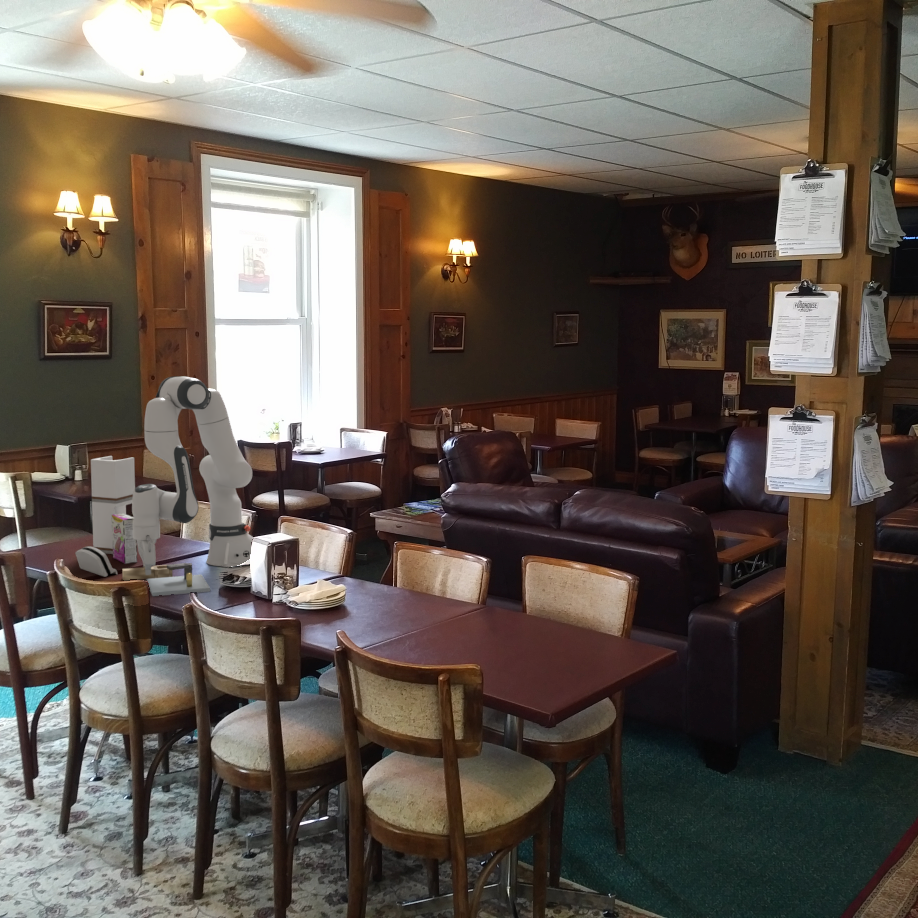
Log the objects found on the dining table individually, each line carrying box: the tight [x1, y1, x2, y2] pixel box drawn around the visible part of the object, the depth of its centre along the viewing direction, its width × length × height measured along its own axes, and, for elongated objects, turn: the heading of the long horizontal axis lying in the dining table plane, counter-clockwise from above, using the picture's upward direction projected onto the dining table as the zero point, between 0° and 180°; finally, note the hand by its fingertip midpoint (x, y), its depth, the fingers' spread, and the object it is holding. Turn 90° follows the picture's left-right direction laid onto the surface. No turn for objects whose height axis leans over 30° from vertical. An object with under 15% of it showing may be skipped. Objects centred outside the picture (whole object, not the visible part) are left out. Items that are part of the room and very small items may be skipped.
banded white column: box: [90, 455, 136, 555], centre depth 373 cm, size 11×11×35 cm
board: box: [145, 574, 211, 597], centre depth 326 cm, size 18×18×1 cm
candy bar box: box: [111, 513, 138, 565], centre depth 358 cm, size 11×5×16 cm, turn 41°
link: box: [121, 564, 174, 581], centre depth 336 cm, size 16×6×3 cm, turn 113°
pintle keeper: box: [166, 562, 193, 587], centre depth 326 cm, size 8×13×6 cm, turn 23°
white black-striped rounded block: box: [74, 545, 119, 577], centre depth 342 cm, size 17×5×10 cm, turn 49°
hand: (147, 572), depth 336 cm, fingers closed on link, 3 cm apart
